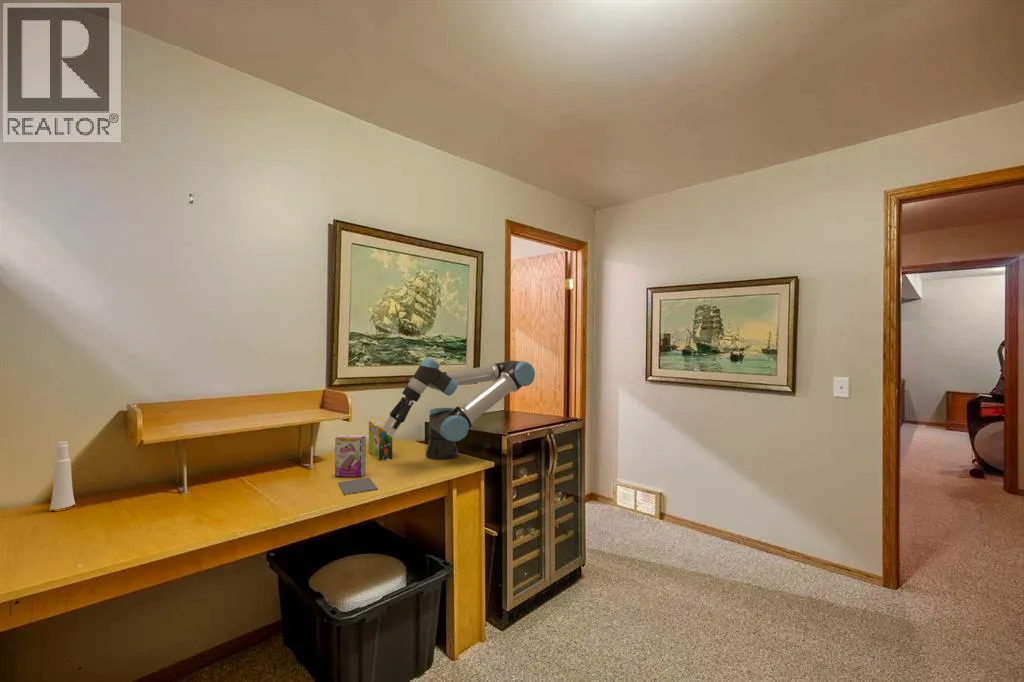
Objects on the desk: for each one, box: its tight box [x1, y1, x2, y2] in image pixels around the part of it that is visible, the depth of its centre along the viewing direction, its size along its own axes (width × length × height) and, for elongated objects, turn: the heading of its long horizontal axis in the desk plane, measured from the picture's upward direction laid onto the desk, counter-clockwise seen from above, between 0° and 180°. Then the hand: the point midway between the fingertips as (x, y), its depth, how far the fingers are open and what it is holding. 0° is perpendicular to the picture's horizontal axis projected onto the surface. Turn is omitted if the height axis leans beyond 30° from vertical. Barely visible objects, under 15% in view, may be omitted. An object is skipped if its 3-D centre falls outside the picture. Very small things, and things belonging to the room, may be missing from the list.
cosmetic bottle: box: [49, 440, 76, 510], centre depth 147 cm, size 6×6×22 cm
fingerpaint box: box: [368, 419, 393, 461], centre depth 214 cm, size 19×7×16 cm, turn 32°
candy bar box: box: [334, 434, 367, 478], centre depth 183 cm, size 11×5×16 cm, turn 84°
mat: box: [337, 477, 379, 496], centre depth 170 cm, size 12×15×1 cm
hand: (386, 432), depth 189 cm, fingers open, 13 cm apart
